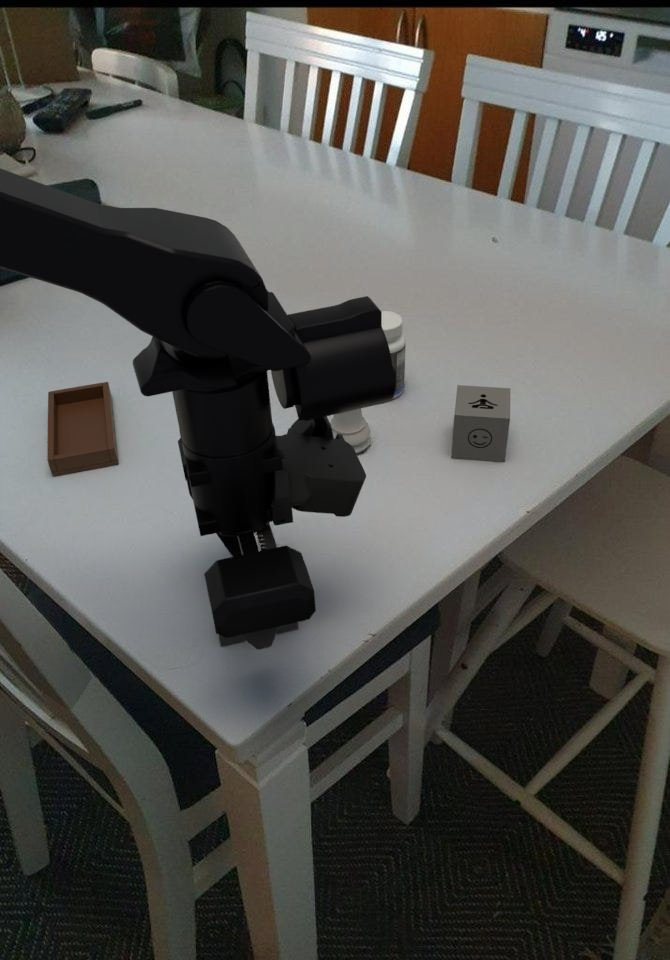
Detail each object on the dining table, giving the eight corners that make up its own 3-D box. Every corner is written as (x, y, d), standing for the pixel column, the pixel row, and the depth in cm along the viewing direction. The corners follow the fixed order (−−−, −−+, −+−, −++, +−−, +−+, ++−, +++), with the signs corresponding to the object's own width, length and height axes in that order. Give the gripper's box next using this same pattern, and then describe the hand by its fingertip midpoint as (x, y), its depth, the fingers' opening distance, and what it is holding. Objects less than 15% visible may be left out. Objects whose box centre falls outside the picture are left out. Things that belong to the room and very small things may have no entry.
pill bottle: (353, 397, 86) (351, 326, 80) (369, 374, 89) (368, 305, 84) (396, 405, 84) (397, 334, 79) (410, 382, 87) (412, 312, 82)
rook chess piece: (380, 442, 79) (380, 372, 74) (349, 463, 77) (347, 392, 72) (348, 424, 82) (345, 355, 77) (316, 444, 79) (312, 374, 74)
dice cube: (451, 457, 77) (454, 414, 74) (454, 427, 81) (457, 384, 78) (504, 462, 76) (510, 418, 73) (505, 430, 80) (510, 388, 77)
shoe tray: (52, 476, 77) (47, 460, 76) (52, 407, 86) (48, 391, 85) (118, 464, 78) (114, 447, 77) (111, 397, 87) (107, 381, 86)
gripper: (398, 499, 45) (394, 672, 55) (316, 337, 59) (325, 499, 69) (197, 540, 43) (231, 713, 53) (162, 363, 57) (194, 526, 67)
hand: (252, 599), depth 60 cm, fingers open, 9 cm apart
